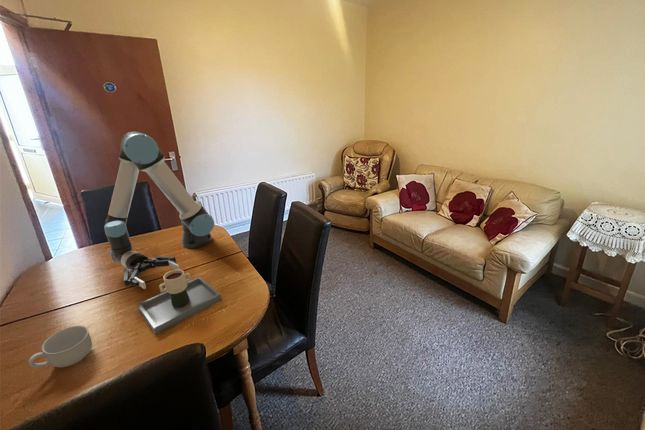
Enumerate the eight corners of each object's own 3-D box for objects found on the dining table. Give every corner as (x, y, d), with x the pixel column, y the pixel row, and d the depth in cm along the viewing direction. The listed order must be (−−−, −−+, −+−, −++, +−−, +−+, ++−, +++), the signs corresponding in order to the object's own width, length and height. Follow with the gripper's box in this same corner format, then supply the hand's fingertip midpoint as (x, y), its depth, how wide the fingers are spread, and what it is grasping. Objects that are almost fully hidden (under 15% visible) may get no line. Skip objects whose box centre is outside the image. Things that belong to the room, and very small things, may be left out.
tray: (201, 282, 124) (199, 276, 122) (221, 300, 112) (220, 294, 111) (139, 310, 108) (137, 304, 106) (155, 335, 96) (153, 328, 95)
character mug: (191, 292, 115) (184, 264, 111) (199, 300, 111) (192, 271, 106) (162, 306, 108) (154, 277, 103) (169, 314, 104) (161, 285, 99)
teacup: (93, 338, 95) (85, 319, 92) (99, 357, 88) (90, 337, 85) (36, 364, 86) (25, 344, 83) (37, 388, 79) (25, 367, 76)
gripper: (165, 256, 133) (193, 269, 122) (104, 283, 114) (130, 302, 103) (161, 242, 130) (189, 254, 119) (98, 267, 111) (125, 285, 100)
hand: (162, 276), depth 111 cm, fingers open, 13 cm apart
